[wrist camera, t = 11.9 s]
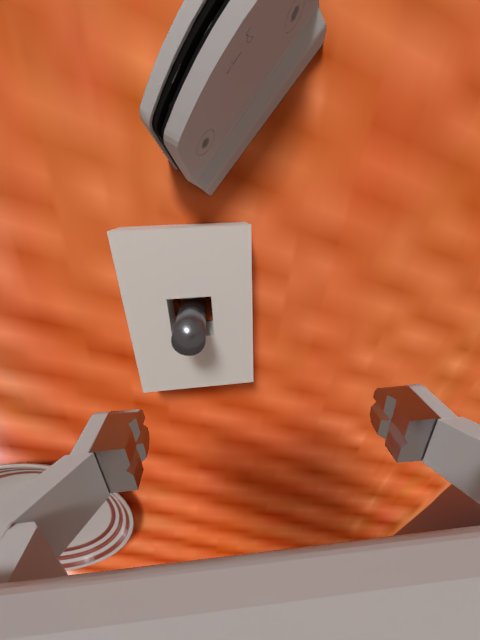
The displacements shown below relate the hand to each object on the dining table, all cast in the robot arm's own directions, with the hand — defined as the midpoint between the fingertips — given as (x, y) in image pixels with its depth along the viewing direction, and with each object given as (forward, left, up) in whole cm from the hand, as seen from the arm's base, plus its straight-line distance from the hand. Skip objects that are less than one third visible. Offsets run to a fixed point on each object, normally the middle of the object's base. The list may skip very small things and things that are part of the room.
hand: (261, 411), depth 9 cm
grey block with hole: (+4, +4, -23) cm, 24 cm away
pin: (+4, +5, -23) cm, 24 cm away
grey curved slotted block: (-2, -16, -23) cm, 28 cm away
